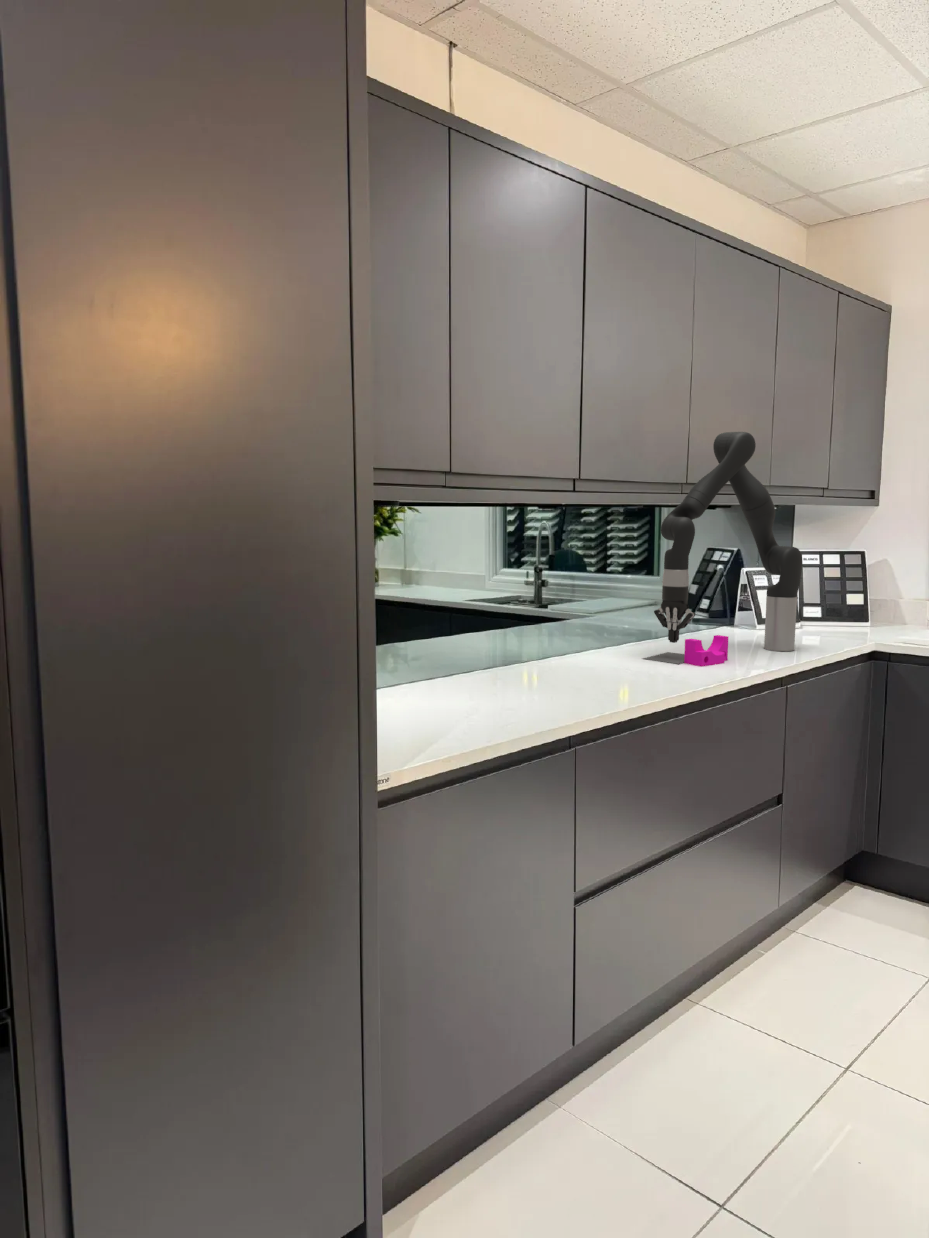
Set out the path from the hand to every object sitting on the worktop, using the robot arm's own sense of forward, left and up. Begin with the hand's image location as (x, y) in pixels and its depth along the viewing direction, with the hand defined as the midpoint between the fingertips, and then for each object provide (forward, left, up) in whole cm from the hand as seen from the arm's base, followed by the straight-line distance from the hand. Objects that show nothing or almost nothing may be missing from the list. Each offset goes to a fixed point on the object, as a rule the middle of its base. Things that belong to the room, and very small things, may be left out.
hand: (673, 642), depth 259 cm
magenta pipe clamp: (-2, +11, -6) cm, 12 cm away
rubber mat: (0, 0, -5) cm, 5 cm away
